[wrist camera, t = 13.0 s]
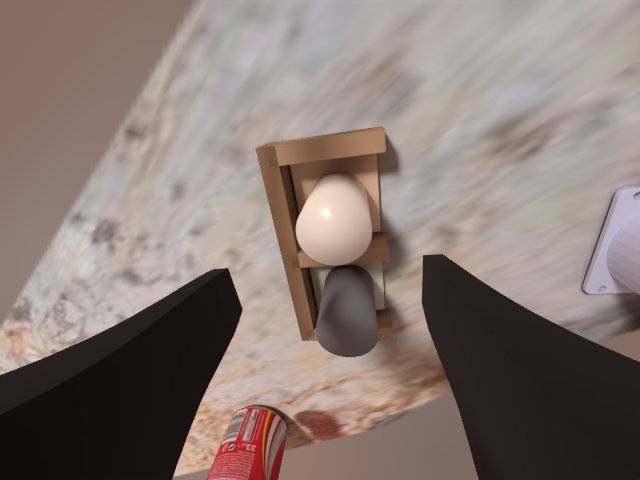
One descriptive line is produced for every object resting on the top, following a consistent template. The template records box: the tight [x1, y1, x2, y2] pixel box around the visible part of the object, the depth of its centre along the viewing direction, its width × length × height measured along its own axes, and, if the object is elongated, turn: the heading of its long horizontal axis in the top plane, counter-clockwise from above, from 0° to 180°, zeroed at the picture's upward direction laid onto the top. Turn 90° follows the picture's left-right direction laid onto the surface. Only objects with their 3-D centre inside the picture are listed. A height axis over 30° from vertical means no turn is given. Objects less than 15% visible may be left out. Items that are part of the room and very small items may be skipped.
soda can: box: [207, 405, 287, 480], centre depth 28 cm, size 7×7×12 cm
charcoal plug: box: [316, 264, 378, 357], centre depth 20 cm, size 4×4×6 cm
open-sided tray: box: [256, 127, 393, 341], centre depth 20 cm, size 8×16×2 cm, turn 9°
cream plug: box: [296, 171, 372, 265], centre depth 16 cm, size 4×4×6 cm
